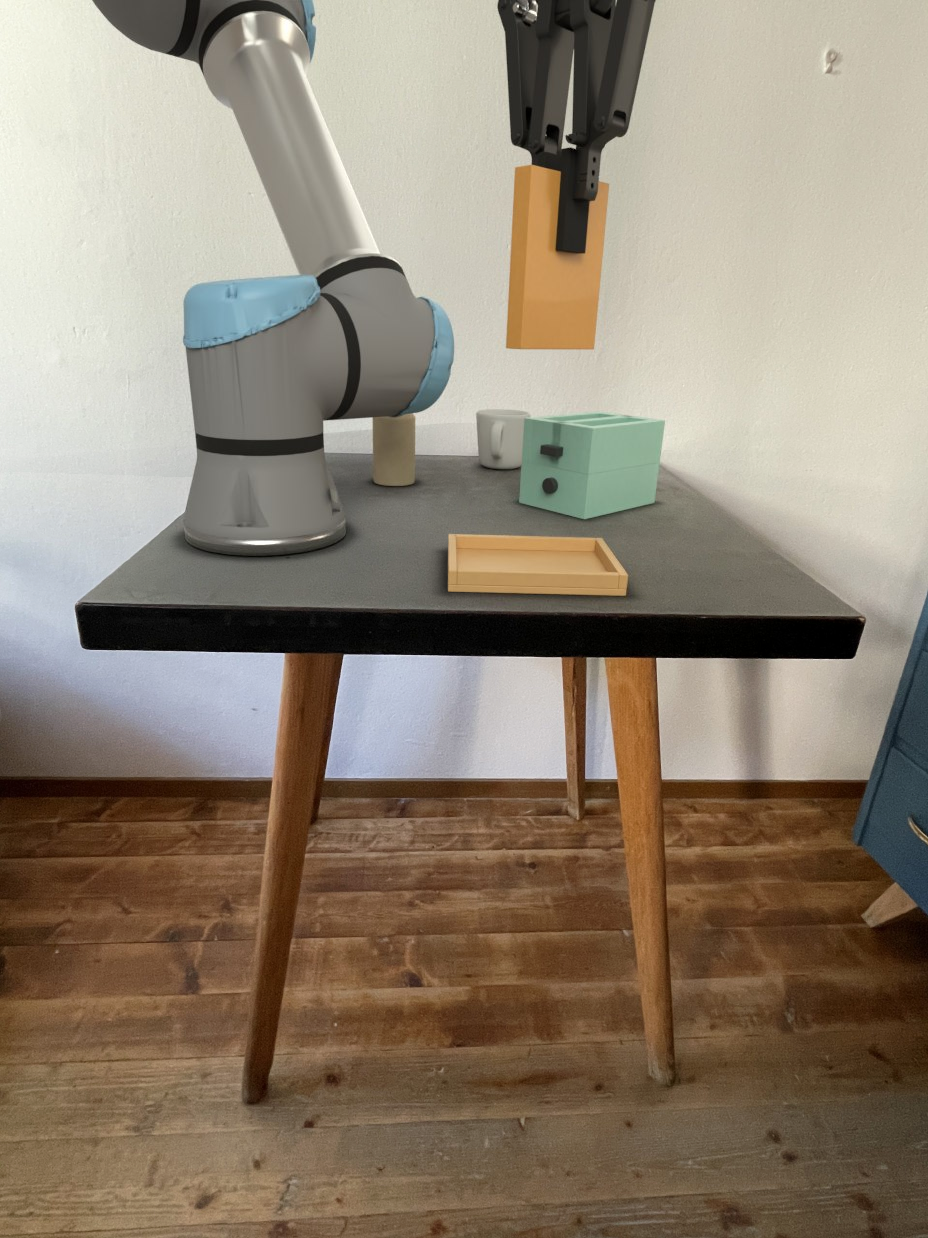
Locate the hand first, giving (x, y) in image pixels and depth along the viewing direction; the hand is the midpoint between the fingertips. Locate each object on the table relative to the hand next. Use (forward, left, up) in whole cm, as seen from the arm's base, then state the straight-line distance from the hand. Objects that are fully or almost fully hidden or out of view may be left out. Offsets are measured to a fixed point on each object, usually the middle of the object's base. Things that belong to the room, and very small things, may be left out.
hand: (558, 251), depth 56 cm
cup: (-35, +32, -25) cm, 54 cm away
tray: (+1, -1, -25) cm, 25 cm away
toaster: (-13, +25, -25) cm, 38 cm away
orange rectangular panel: (0, 0, -7) cm, 7 cm away
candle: (-36, +13, -25) cm, 46 cm away
